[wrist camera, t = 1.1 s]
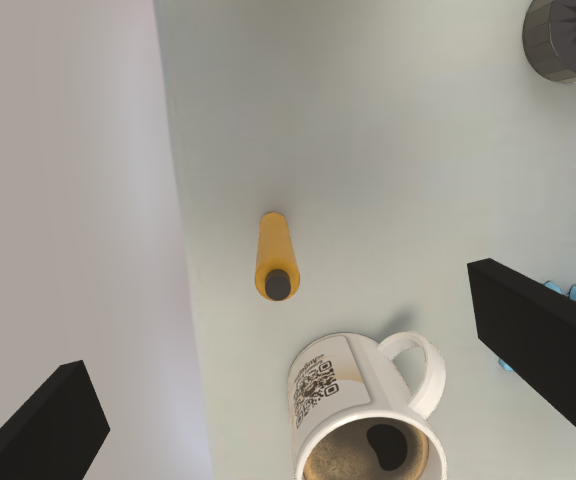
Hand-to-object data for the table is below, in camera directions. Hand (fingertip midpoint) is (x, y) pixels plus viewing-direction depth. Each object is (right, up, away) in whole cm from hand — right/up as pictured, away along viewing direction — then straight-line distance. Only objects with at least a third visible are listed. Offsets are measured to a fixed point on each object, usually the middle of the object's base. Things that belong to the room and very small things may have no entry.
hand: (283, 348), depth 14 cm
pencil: (-1, +5, +20) cm, 20 cm away
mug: (+6, -9, +23) cm, 26 cm away
